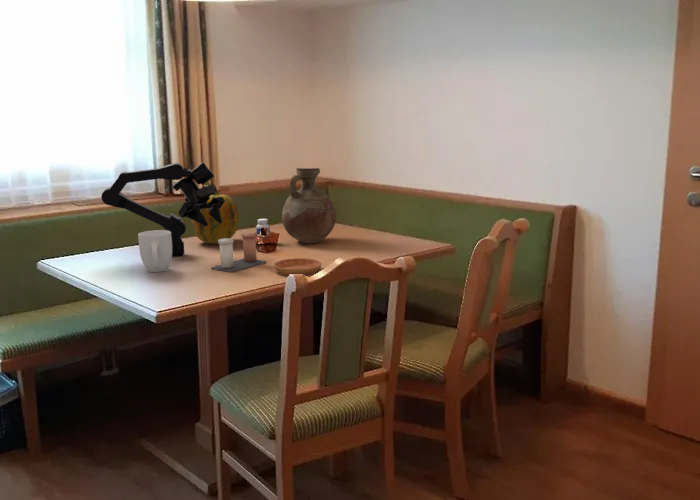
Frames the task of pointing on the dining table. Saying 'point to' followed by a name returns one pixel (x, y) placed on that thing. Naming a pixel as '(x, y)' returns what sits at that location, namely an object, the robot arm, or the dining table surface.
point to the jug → (308, 209)
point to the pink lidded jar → (249, 246)
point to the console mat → (239, 265)
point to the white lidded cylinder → (226, 252)
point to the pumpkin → (215, 228)
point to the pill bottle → (262, 225)
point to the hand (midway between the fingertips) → (214, 224)
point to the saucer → (297, 266)
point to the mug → (155, 249)
